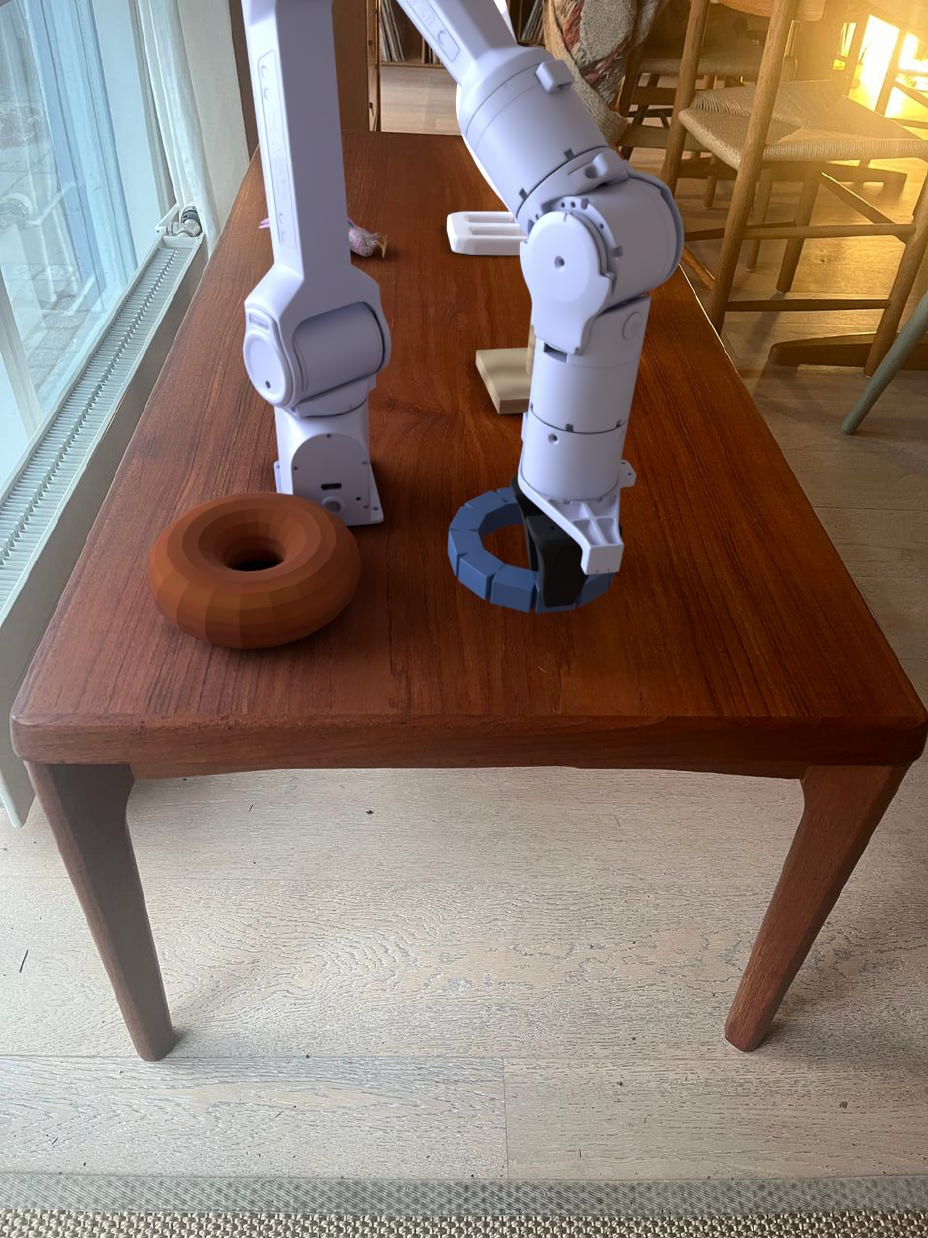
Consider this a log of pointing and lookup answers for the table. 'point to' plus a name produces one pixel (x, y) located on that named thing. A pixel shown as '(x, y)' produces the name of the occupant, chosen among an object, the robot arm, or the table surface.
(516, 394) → the stand
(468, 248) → the jewelry stand
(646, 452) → the table surface
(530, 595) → the ring
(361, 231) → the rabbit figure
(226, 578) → the donut
